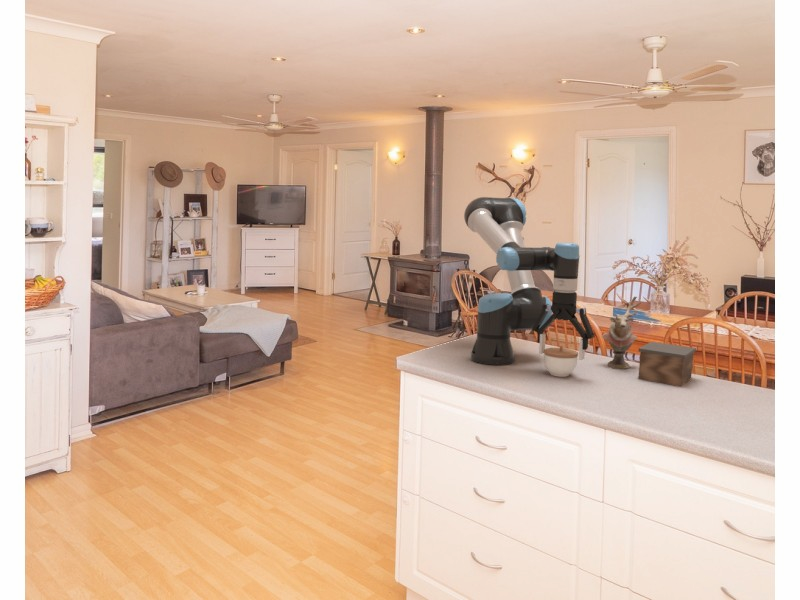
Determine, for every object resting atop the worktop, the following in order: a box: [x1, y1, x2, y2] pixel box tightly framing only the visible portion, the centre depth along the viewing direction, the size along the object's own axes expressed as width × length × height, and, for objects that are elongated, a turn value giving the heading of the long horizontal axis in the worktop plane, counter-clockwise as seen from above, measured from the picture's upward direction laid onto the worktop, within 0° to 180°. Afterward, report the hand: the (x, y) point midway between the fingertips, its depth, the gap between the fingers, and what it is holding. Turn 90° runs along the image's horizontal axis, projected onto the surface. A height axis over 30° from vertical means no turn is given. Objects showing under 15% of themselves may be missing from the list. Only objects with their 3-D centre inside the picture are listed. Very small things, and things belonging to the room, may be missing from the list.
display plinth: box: [637, 341, 697, 387], centre depth 205 cm, size 14×14×10 cm
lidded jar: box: [543, 345, 579, 378], centre depth 207 cm, size 11×11×9 cm
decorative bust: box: [601, 296, 642, 370], centre depth 217 cm, size 11×13×25 cm
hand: (561, 356), depth 206 cm, fingers open, 13 cm apart
